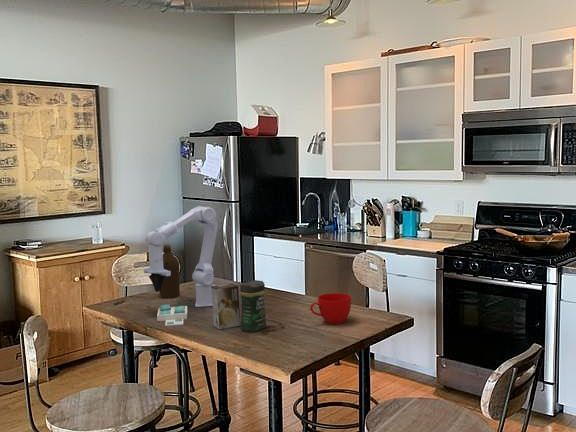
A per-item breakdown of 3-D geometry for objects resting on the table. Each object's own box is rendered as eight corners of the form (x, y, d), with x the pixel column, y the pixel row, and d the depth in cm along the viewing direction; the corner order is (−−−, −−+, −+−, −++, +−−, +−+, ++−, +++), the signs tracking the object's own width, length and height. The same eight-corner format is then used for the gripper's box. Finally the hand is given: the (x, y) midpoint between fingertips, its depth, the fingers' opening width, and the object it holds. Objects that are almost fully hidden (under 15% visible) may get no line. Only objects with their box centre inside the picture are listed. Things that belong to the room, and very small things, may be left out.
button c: (170, 309, 253) (170, 303, 252) (170, 311, 249) (169, 305, 249) (161, 310, 252) (160, 304, 252) (160, 312, 248) (160, 306, 248)
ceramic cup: (304, 321, 234) (303, 296, 233) (341, 315, 240) (341, 291, 239) (318, 330, 222) (317, 304, 221) (357, 323, 229) (357, 298, 228)
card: (183, 319, 243) (183, 318, 242) (183, 324, 236) (183, 323, 236) (166, 321, 241) (166, 319, 241) (165, 325, 235) (165, 324, 235)
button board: (187, 311, 255) (187, 305, 255) (187, 319, 243) (186, 313, 243) (159, 313, 253) (158, 308, 253) (157, 321, 241) (157, 315, 241)
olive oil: (185, 296, 283) (182, 244, 280) (164, 300, 277) (161, 247, 274) (175, 292, 291) (172, 242, 289) (154, 296, 285) (151, 245, 282)
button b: (184, 312, 248) (184, 306, 247) (184, 314, 244) (183, 308, 244) (175, 312, 247) (174, 306, 247) (174, 315, 243) (174, 309, 243)
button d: (169, 315, 247) (169, 310, 247) (169, 318, 243) (169, 312, 243) (160, 316, 246) (160, 310, 246) (160, 319, 243) (159, 313, 242)
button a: (184, 311, 254) (184, 305, 253) (184, 313, 250) (184, 307, 250) (175, 311, 253) (175, 306, 253) (175, 314, 249) (175, 308, 249)
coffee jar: (253, 333, 220) (251, 284, 218) (237, 330, 225) (235, 282, 223) (270, 327, 228) (268, 280, 226) (254, 324, 233) (252, 277, 231)
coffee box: (234, 322, 237) (232, 282, 235) (240, 325, 231) (239, 285, 229) (213, 325, 233) (211, 285, 231) (218, 329, 227) (216, 288, 225)
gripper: (137, 260, 251) (139, 291, 253) (161, 262, 243) (163, 295, 245) (149, 257, 257) (151, 287, 259) (173, 259, 249) (175, 291, 250)
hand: (158, 291), depth 252 cm, fingers closed
